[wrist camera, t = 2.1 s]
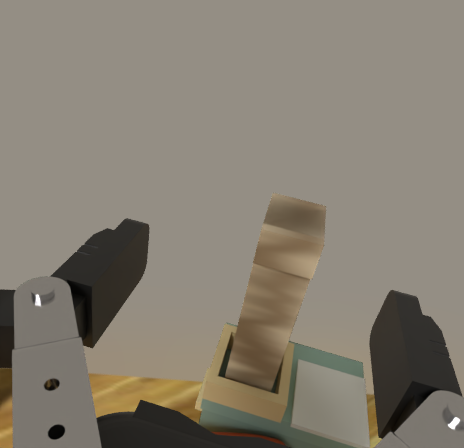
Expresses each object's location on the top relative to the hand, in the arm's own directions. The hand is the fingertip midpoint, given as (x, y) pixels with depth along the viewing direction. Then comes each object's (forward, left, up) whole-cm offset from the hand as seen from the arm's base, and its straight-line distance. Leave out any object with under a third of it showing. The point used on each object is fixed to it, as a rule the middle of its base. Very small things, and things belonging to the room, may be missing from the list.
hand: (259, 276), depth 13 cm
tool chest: (+4, +12, -32) cm, 35 cm away
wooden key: (+1, +11, -18) cm, 21 cm away
